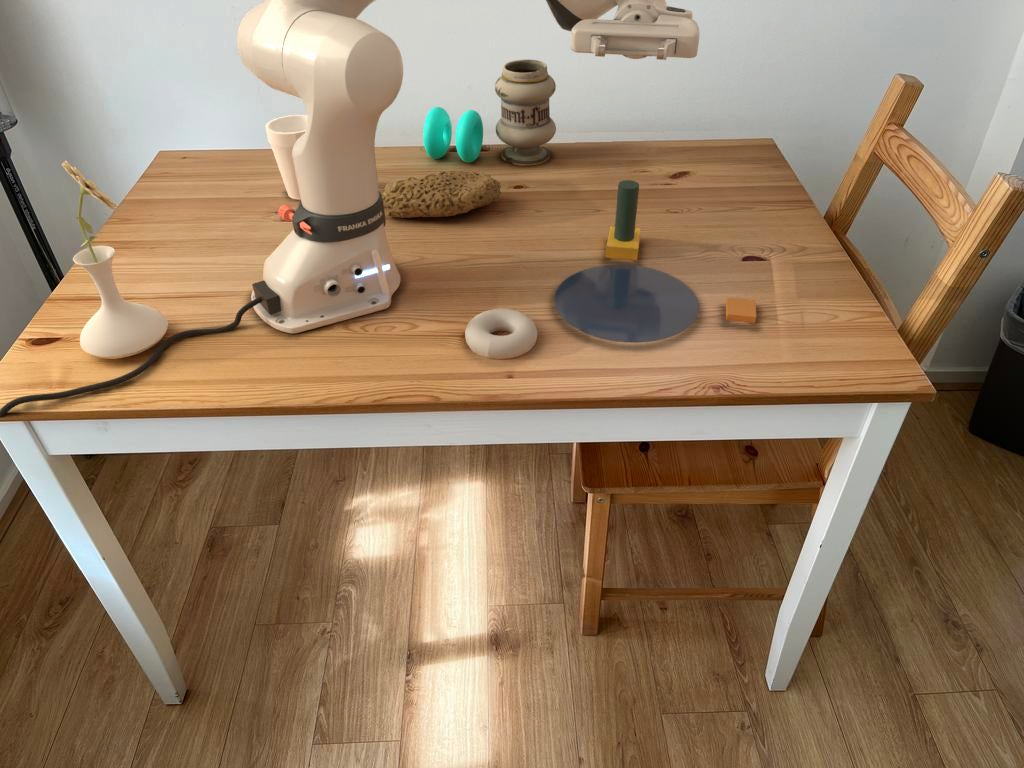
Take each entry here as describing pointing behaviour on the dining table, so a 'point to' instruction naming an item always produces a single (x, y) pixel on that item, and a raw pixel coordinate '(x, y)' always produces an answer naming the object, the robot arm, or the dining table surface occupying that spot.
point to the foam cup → (286, 147)
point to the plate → (626, 303)
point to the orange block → (741, 310)
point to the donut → (501, 345)
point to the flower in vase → (112, 296)
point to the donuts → (441, 132)
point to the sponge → (440, 194)
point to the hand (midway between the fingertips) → (630, 52)
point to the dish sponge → (625, 224)
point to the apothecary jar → (525, 111)
